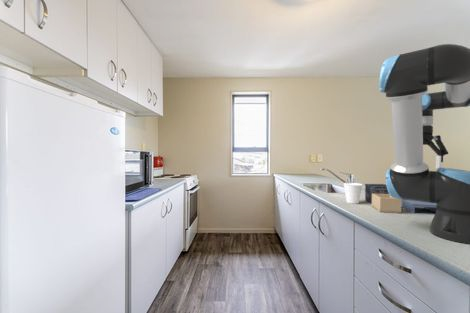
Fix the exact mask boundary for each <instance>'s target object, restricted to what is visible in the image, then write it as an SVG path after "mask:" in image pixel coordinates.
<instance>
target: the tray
mask: <svg viewBox="0 0 470 313" xmlns="http://www.w3.org/2000/svg"><path fill="white" fill-rule="evenodd" d="M371 207H372V208H373V209H374V210H376V211H378V212H379V213H386V214H387V213H388V214H402V208H401V207H402V199H397V198H393V197H392V196H391V195H390V194H372V203H371Z"/></svg>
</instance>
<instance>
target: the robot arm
mask: <svg viewBox="0 0 470 313" xmlns="http://www.w3.org/2000/svg"><path fill="white" fill-rule="evenodd" d="M437 84H444V87H445V88H444V89H445V90H444V91H437V92H436V91H435V92H428V86H433V85H437ZM378 85H379V91H380V93H382V94H385V98H386V99H387V100H388V101H390V102H391V115H392V116H391V117H392V135H393V151H394V153H393V156H394V163H392V164H391V165H390V168H389V169H387V170H386V172H385V185H386V186H387V190H388V192H389V194H390V195H391V196H392V197H393V198H397V199H402V200H412V201H420V202H429V203H436V204H437V211H436V213H435V212H434V213H435V214H434V215H433V218H432V220H431V222H430V224H429V232H430V234H432V235H434V236H436V237H439V238H442V239H445V240H448V241H453V242H458V243H463V244H470V170H465V169H457V168H448V167H442V163H443V162H444V156H446V155H449V151H448V150H447V148H446V146H445V145H444V143H443V141H442V137H441V135H440V134H439V135H434V136H433V133H434V127H433V126H434V110H445V109H455V108H468V107H470V48H469V47H466V46H464V45H460V44H459V45H458V44H453V43H446V44H445V43H444V44H438V45H435V46H431V47H427V48H423V49H418V50H414V51H410V52H405V53H402V54H401V53H400V54H397V55H395V56H391V57H389V58H387V59H385V60H384V62H383V63H382V65H381V68H380V74H379V83H378ZM433 140H434V141H435V143H436V144H435V143H434V142H433ZM425 145H427V146H428V147H429V148H430V149H431V150H432V151H433V152H434V153H435V154H436V156H435V170H436V171H435V170H430V169H429V168H430V166H429V165H428V164H427V163H425V162H424V146H425ZM436 145H437V146H436Z"/></svg>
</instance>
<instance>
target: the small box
mask: <svg viewBox="0 0 470 313" xmlns="http://www.w3.org/2000/svg"><path fill="white" fill-rule="evenodd" d="M364 187H365V189H364V193H365V194H364V198H365V199H364V200H365V202H366V203H369V204H372V194H389V192H388V190H387V186H386V183H385V184H384V183H364Z"/></svg>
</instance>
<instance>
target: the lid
mask: <svg viewBox="0 0 470 313" xmlns="http://www.w3.org/2000/svg"><path fill="white" fill-rule="evenodd" d="M403 208H404V209H403ZM416 208H424V209H425V208H427V209H426V210H428V209H429V210H428V211H430V210H431V211H430V212H433V211H434V212H433V213H435V212H436V211H437V204H436V203H429V202H420V201H412V200H402V208H401V209H403V210H405V209H406V210H405V211H407V210H408V211H407V212H409V213H411V214H415V211H416V210H415V209H416Z"/></svg>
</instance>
